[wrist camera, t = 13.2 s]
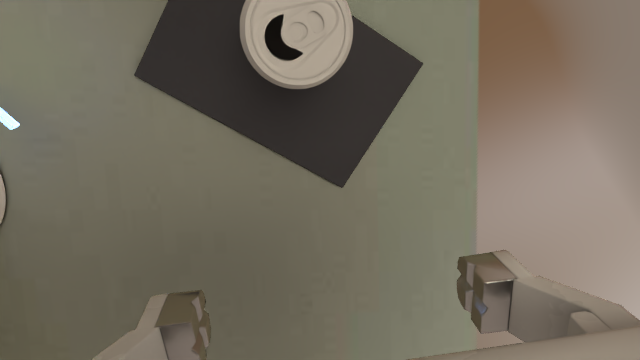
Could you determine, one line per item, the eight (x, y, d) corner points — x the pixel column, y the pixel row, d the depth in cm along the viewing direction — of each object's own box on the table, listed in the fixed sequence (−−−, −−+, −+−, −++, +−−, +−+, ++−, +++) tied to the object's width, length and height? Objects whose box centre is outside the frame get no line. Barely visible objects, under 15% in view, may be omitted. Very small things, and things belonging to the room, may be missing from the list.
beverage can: (235, 11, 32) (212, 4, 21) (307, -30, 32) (324, -60, 20) (275, 85, 34) (274, 113, 23) (344, 47, 34) (376, 58, 23)
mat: (135, 74, 34) (133, 75, 33) (207, -82, 30) (206, -83, 30) (341, 186, 39) (342, 188, 38) (421, 63, 35) (423, 63, 35)
